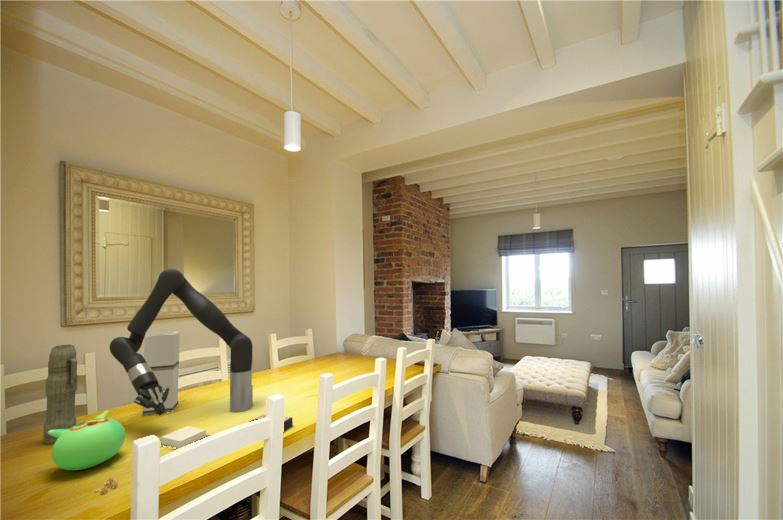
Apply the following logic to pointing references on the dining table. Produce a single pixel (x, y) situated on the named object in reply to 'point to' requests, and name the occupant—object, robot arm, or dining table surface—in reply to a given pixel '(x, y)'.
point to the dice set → (107, 486)
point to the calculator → (287, 421)
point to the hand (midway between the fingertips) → (162, 413)
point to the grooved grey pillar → (164, 365)
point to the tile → (183, 437)
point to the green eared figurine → (87, 443)
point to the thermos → (60, 390)
